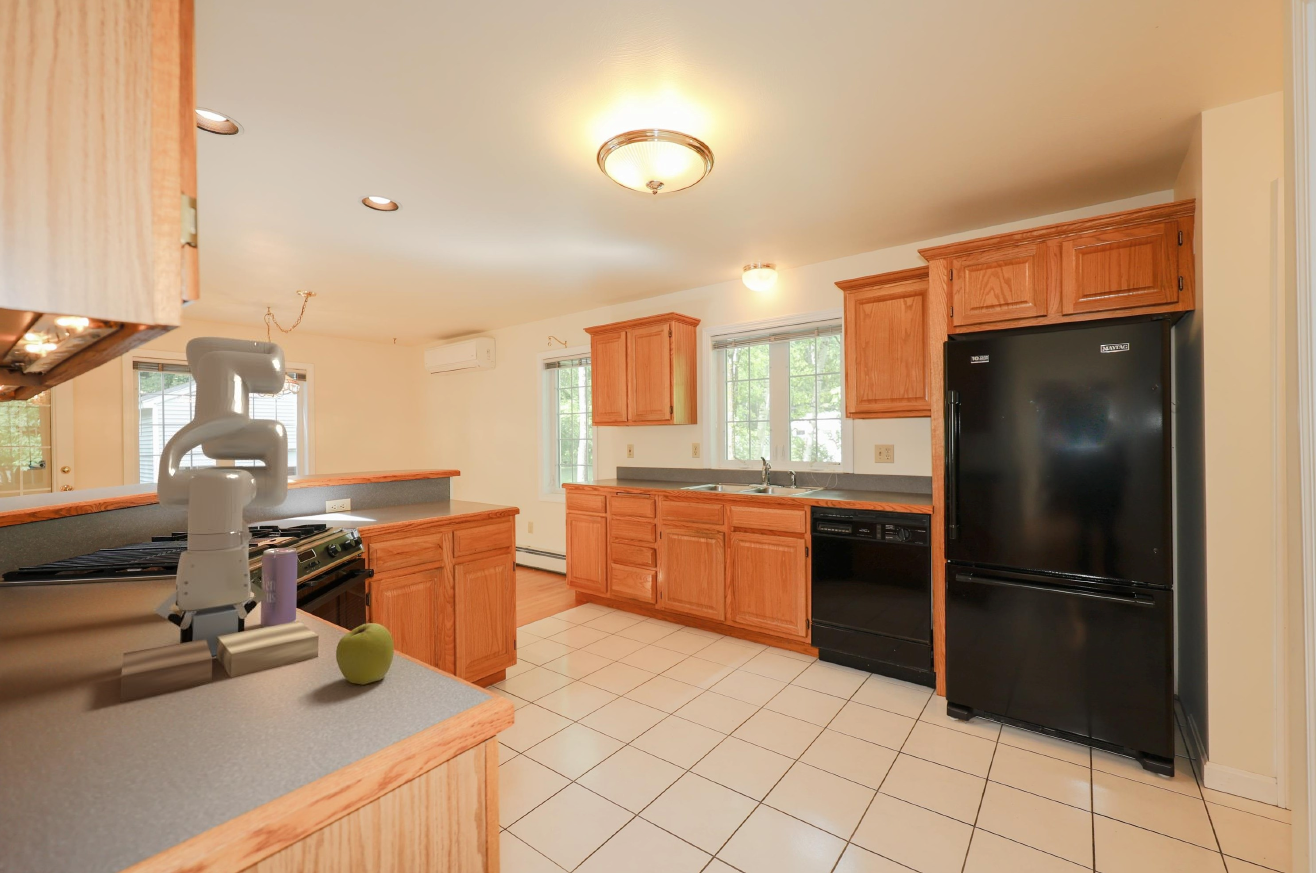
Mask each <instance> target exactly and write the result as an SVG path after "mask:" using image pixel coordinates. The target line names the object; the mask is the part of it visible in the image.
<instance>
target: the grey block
mask: <svg viewBox="0 0 1316 873" xmlns="http://www.w3.org/2000/svg"><path fill="white" fill-rule="evenodd" d="M191 627H192V629H193V635H192V641H197V640H203V639H206V641H207V644H208V647H209V650H210V653H211V656H212V657H214V656H217V636H222V635H228V634H233V633H238V610H237V609H235V608H234V606H232V605H230V606H224V607H217V608H211V609H205V610H198V611H196V613H195V615H194V616H193V619H192V621H191Z"/></svg>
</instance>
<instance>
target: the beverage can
mask: <svg viewBox="0 0 1316 873" xmlns="http://www.w3.org/2000/svg"><path fill="white" fill-rule="evenodd" d="M262 553H263V554H262V557H261V583H260V584H261V587H260V588H261V589H262V590H263V591H265V592H266V593H267V596H266V597H265V598H264V599H263V600H262V601H261V602H260V625H261V626H262V628H264V627H270V626H275V625H280V624H286V623H291V622H296V621H297V620H296V619H297V598H298V597H297V594H298V593H297V590H298V589H297V588H298V587H297V586H298V552H297V548H295V547H278V548H270V549H266V550H263V552H262Z"/></svg>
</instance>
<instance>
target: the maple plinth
mask: <svg viewBox="0 0 1316 873" xmlns="http://www.w3.org/2000/svg"><path fill="white" fill-rule="evenodd" d="M319 638H320V637H319V635H318V634H317V633H315V632H314V631H313V630H311V629H310V628H309V627H308V626H306V625H304V624H303V623H302V622H301V621H299V620H295V621H294V622H291V623H286V624H280V625H275V626H270V627H259V628H255V629H254V628H253V629H250V630H244V631H243V632H238V633H233V634H228V635H222V636H217V655H216V658H217V660H218V661H219V662H220V664H221V665H222V667H223V668H224V670H225V671H226V673H227V674H228V675H229V677H230V678H234V677H239V676H243V675H248V674H252V673H255V672H260V671H263V670H268V669H269V670H270V669H272V668H276V667H282V666H286V665H289V664H294V663H299V662H303V661H307V660H311V659H315V658H316V659H317V658H319V640H320V639H319Z"/></svg>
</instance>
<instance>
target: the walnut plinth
mask: <svg viewBox="0 0 1316 873" xmlns="http://www.w3.org/2000/svg"><path fill="white" fill-rule="evenodd" d="M120 677H121V678H120V703H124V702H129V701H133V700H134V701H135V700H138V699H143V698H148V697H151V696H157V695H161V694H165V693H171V692H174V691H175V692H176V691H180V690H184V689H189V688H194V687H198V686H202V685H206V684H207V685H208V684H211V683H213V680H212V679H213V656H211V653H210V650H209V647H208V644H207V641H206V639H203V640H197V641H192V642H186V643H180V642H179V643H175V644H170V645H162V646H157V647H152V648H146V649H145V648H144V649H139V650H135V651H134V650H133V651H130V652H129V651H127V652H123V656H122V665H121V676H120Z"/></svg>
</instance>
